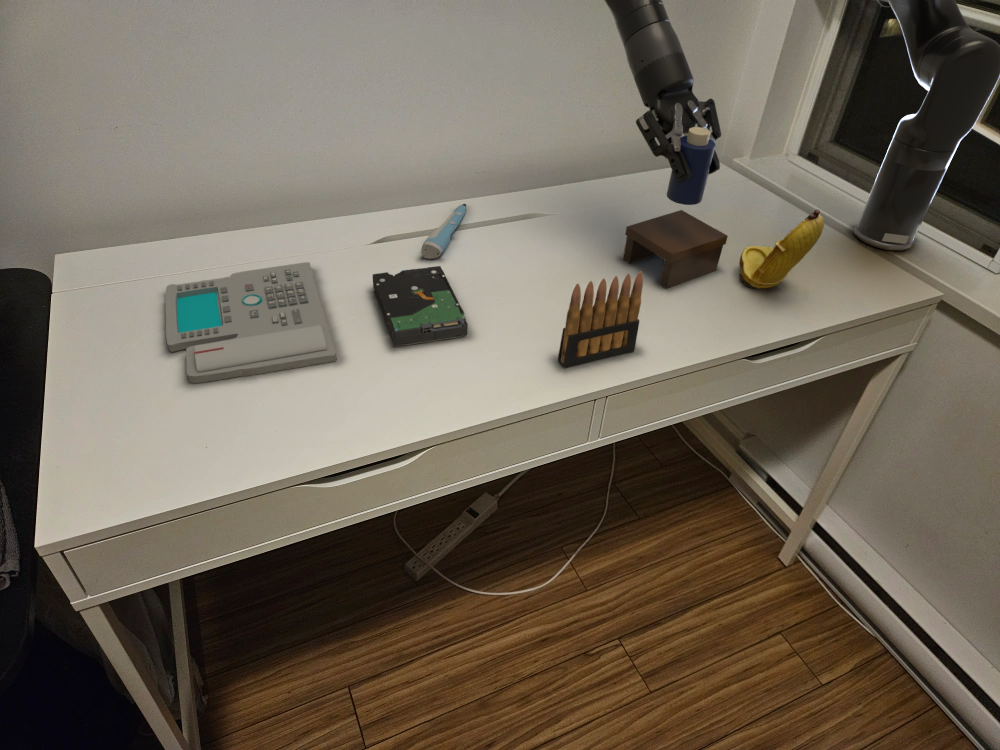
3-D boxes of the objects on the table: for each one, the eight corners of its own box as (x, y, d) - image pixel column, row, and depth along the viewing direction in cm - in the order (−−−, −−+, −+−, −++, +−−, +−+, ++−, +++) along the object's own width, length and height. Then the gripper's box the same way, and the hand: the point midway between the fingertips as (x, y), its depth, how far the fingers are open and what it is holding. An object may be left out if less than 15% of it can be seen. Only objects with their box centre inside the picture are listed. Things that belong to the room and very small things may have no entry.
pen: (439, 262, 108) (439, 246, 106) (419, 259, 108) (419, 242, 107) (472, 209, 123) (473, 194, 121) (455, 206, 123) (455, 191, 121)
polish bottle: (683, 187, 106) (699, 122, 100) (709, 200, 103) (726, 134, 97) (659, 194, 104) (673, 127, 98) (684, 208, 101) (700, 140, 94)
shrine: (811, 301, 104) (848, 209, 95) (766, 309, 102) (798, 215, 93) (766, 263, 113) (796, 175, 103) (723, 269, 110) (749, 180, 101)
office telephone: (337, 345, 86) (163, 375, 80) (339, 361, 88) (169, 392, 82) (308, 253, 103) (162, 273, 97) (310, 269, 105) (167, 289, 98)
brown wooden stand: (673, 242, 117) (681, 209, 113) (718, 269, 110) (728, 235, 107) (620, 260, 111) (626, 226, 107) (664, 289, 105) (672, 254, 101)
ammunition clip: (627, 343, 94) (643, 266, 86) (634, 351, 93) (651, 273, 85) (557, 360, 90) (567, 281, 83) (563, 368, 89) (574, 289, 81)
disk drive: (371, 290, 101) (393, 349, 90) (370, 273, 99) (392, 331, 89) (440, 280, 104) (469, 336, 93) (440, 264, 102) (469, 319, 92)
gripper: (637, 56, 93) (681, 174, 93) (711, 44, 100) (752, 155, 100) (605, 85, 100) (647, 195, 100) (676, 73, 106) (715, 176, 106)
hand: (699, 175), depth 100 cm, fingers closed on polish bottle, 5 cm apart
